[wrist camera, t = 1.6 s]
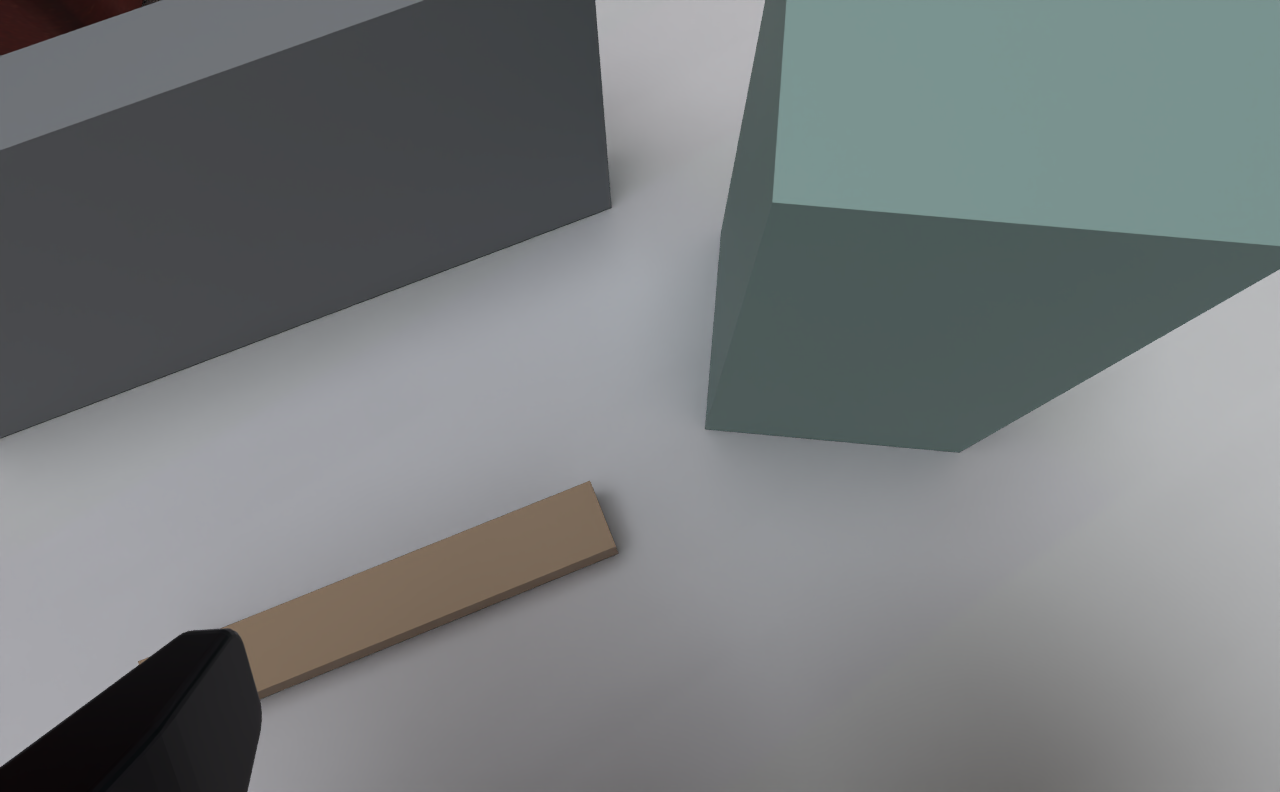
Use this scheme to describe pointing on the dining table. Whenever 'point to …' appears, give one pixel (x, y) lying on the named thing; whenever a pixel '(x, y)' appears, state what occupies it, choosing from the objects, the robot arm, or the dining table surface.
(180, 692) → the robot arm
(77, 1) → the plant pot
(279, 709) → the dining table surface
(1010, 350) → the cabinet box
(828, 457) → the dining table surface
